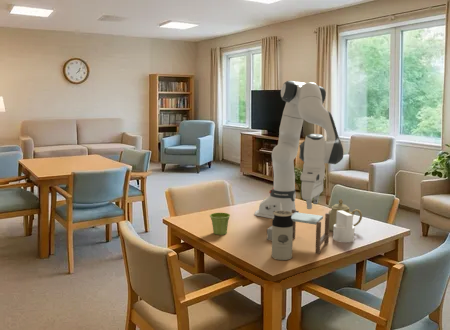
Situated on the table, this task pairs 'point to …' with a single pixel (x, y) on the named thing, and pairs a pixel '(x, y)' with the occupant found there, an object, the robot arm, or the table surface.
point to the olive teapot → (334, 214)
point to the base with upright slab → (343, 227)
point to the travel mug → (282, 235)
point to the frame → (317, 232)
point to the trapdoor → (306, 218)
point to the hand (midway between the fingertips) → (312, 206)
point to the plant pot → (220, 222)
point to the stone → (269, 233)
